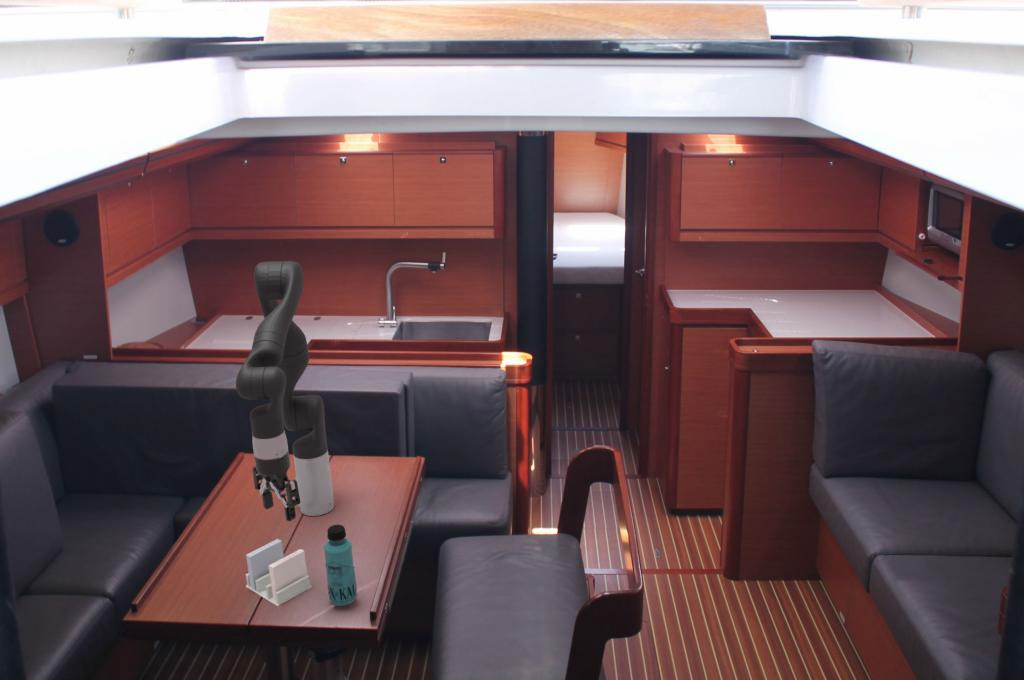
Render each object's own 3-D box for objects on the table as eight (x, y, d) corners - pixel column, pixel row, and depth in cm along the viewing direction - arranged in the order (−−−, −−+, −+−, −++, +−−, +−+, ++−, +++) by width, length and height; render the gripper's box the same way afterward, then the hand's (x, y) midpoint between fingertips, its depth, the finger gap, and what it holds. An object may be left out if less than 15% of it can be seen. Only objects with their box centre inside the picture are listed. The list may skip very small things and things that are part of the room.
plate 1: (251, 587, 230) (245, 554, 227) (282, 570, 237) (277, 538, 234) (254, 589, 229) (249, 557, 226) (286, 573, 236) (281, 540, 233)
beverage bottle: (331, 596, 227) (321, 521, 220) (359, 594, 227) (351, 519, 221) (328, 613, 221) (319, 536, 214) (357, 610, 221) (349, 534, 215)
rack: (277, 609, 223) (275, 595, 222) (245, 588, 231) (243, 575, 230) (312, 589, 230) (311, 575, 229) (280, 570, 238) (278, 556, 237)
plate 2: (273, 598, 226) (268, 565, 223) (304, 581, 232) (300, 548, 229) (277, 601, 225) (272, 568, 222) (308, 583, 231) (304, 551, 228)
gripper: (238, 447, 219) (248, 510, 225) (275, 465, 210) (285, 530, 216) (266, 436, 224) (275, 497, 230) (304, 453, 215) (312, 516, 221)
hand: (279, 513), depth 223 cm, fingers open, 8 cm apart
